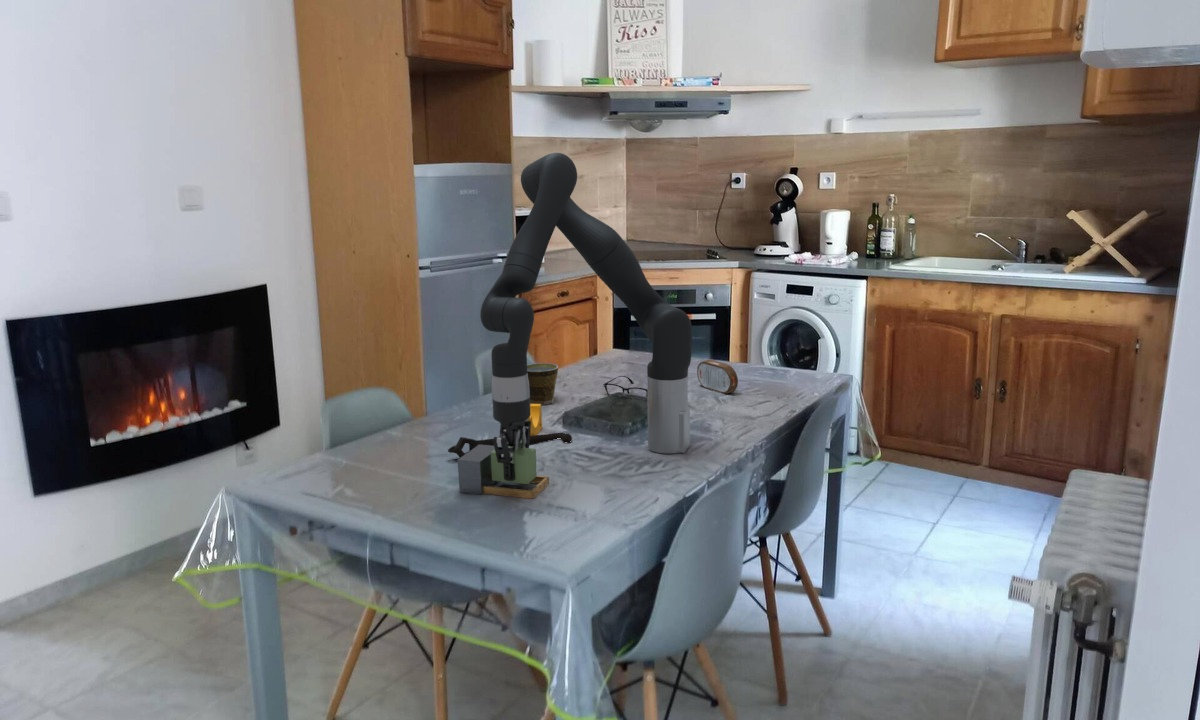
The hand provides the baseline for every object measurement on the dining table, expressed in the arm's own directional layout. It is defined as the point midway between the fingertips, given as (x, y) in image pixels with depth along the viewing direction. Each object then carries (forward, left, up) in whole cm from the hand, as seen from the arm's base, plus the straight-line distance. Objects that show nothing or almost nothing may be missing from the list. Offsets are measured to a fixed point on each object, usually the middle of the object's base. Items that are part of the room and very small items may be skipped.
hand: (514, 475), depth 181 cm
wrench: (+10, -22, -3) cm, 24 cm away
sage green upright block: (0, 0, -1) cm, 1 cm away
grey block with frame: (+2, 0, -3) cm, 4 cm away
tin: (-25, -86, -3) cm, 90 cm away
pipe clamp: (+11, -34, -3) cm, 36 cm away
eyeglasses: (-4, -79, -3) cm, 79 cm away
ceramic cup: (+21, -62, -3) cm, 65 cm away
